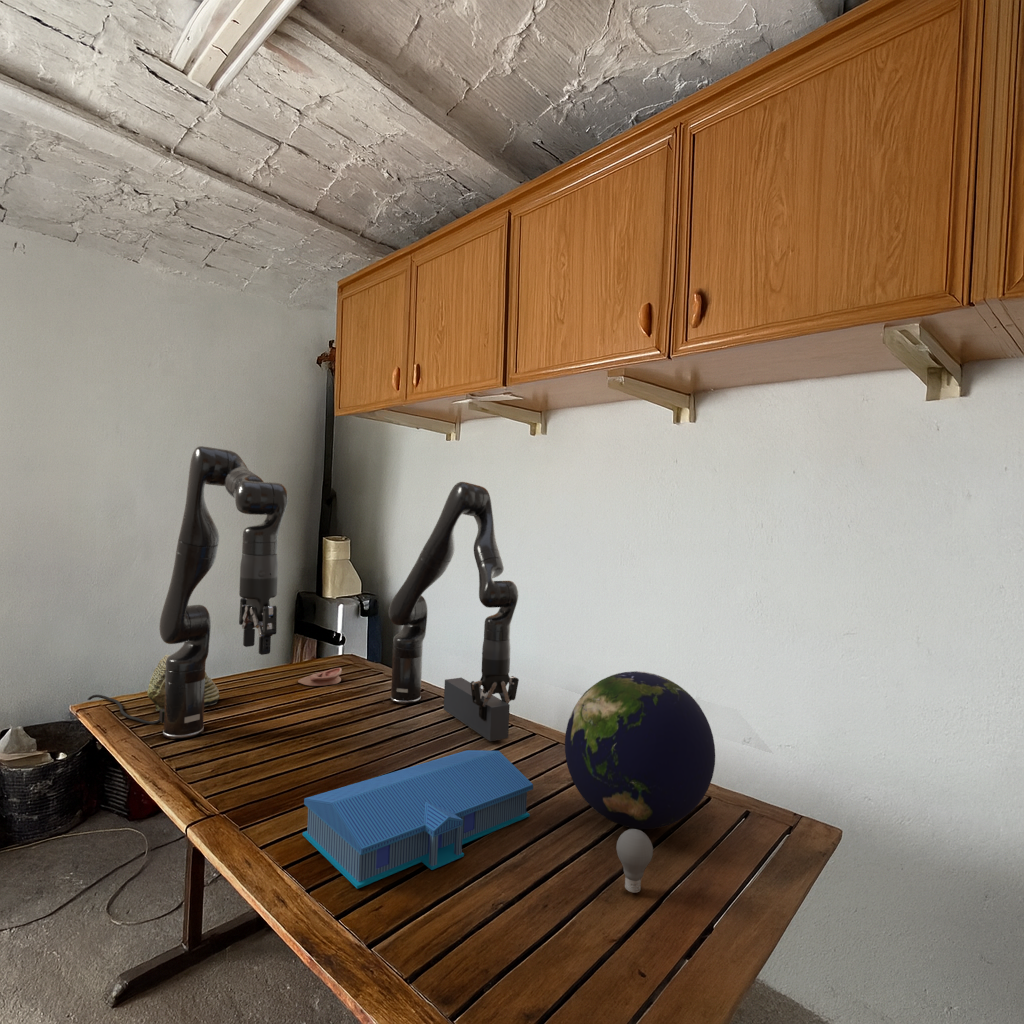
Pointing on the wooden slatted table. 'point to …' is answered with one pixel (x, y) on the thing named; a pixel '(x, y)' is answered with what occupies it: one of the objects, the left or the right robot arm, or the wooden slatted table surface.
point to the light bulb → (634, 857)
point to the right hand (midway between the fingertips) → (493, 717)
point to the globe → (640, 750)
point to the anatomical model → (322, 678)
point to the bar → (476, 710)
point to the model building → (416, 814)
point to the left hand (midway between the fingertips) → (256, 650)
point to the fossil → (158, 687)
